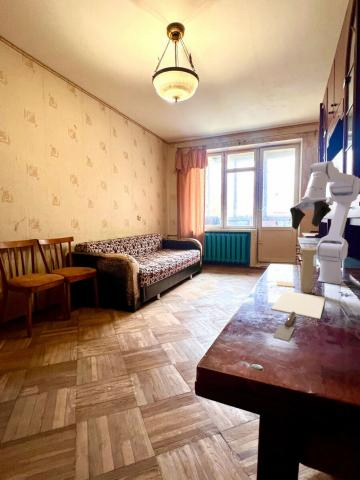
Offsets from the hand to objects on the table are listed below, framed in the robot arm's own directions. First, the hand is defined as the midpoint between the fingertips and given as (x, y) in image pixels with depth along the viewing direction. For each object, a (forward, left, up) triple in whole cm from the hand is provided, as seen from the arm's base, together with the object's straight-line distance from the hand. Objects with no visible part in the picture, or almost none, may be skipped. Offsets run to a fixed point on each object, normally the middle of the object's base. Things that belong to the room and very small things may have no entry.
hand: (304, 226), depth 81 cm
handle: (-3, +1, -23) cm, 23 cm away
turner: (+31, +1, -23) cm, 38 cm away
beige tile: (-9, -7, -23) cm, 26 cm away
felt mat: (+11, +1, -23) cm, 25 cm away
